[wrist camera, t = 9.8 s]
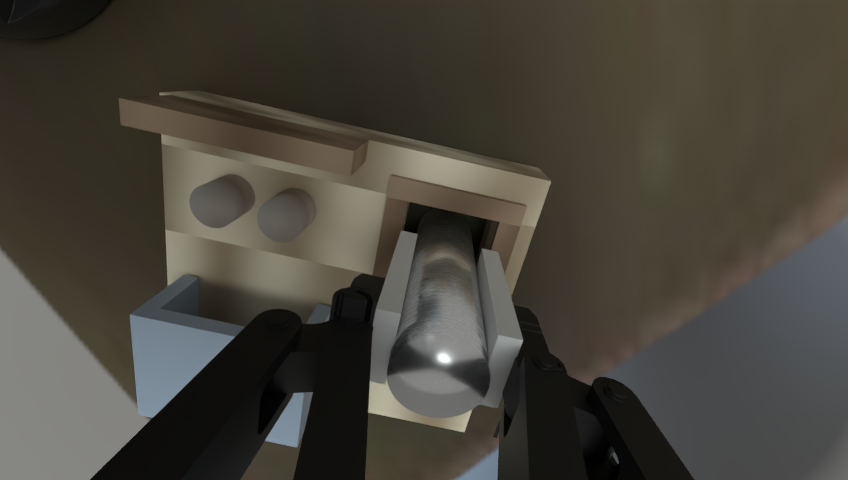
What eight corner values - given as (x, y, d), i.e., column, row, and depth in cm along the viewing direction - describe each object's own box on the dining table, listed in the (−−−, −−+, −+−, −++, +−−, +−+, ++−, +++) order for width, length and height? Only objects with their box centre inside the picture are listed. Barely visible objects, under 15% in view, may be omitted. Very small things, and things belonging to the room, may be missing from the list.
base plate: (200, 340, 26) (134, 409, 21) (198, 90, 20) (105, 94, 15) (462, 395, 27) (466, 478, 21) (537, 167, 21) (569, 199, 15)
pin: (412, 248, 23) (378, 405, 12) (424, 200, 22) (398, 325, 11) (462, 259, 23) (474, 427, 12) (476, 212, 22) (503, 349, 11)
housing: (185, 363, 23) (138, 414, 20) (183, 274, 21) (129, 314, 17) (320, 391, 23) (297, 447, 20) (332, 306, 21) (309, 352, 18)
